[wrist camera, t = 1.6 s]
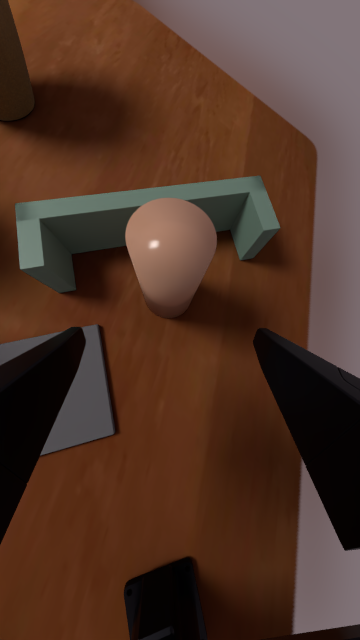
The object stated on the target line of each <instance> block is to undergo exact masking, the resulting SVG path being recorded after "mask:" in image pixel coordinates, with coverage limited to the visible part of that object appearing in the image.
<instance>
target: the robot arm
mask: <svg viewBox="0 0 360 640" xmlns="http://www.w3.org/2000/svg"><path fill="white" fill-rule="evenodd" d="M253 345H254V348H255V351H256V354H257V357H258V360H259V363H260V366H261V369H262V371H263V373H264V376H265V378H266V380H267V382H268V384H269V387H270V389H271V391H272V393H273V395H274V398H275V400H276V402H277V404H278V406H279V409H280V411H281V413H282V415H283V417H284V419H285V422H286V424H287V426H288V428H289V430H290V433H291V435H292V437H293V439H294V441H295V444H296V446H297V448H298V450H299V452H300V455H301V457H302V459H303V461H304V463H305V465H306V468H307V470H308V472H309V474H310V477H311V479H312V481H313V483H314V486H315V488H316V490H317V492H318V494H319V496H320V499H321V501H322V503H323V505H324V507H325V510H326V512H327V514H328V516H329V518H330V521H331V523H332V525H333V527H334V529H335V532H336V534H337V536H338V538H339V540H340V542H341V544H342V546H343V548H344V550H345V551H347V550H356V549H360V379H359V378H357V377H356V376H354V375H352V374H350V373H348V372H346V371H344V370H343V369H341V368H338V367H336V366H335V365H333V364H331V363H329V362H327V361H326V360H324V359H322V358H320V357H318V356H317V355H315V354H313V353H311V352H309V351H307V350H306V349H304V348H302V347H300V346H298V345H296V344H294V343H293V342H291V341H289V340H287V339H285V338H283V337H282V336H280V335H278V334H276V333H274V332H272V331H270V330H269V329H267V328H259V329H257V331H256V334H255V337H254V340H253ZM85 346H86V338H85V335H84V332H83V329H82V328H81V327H71V328H69V329H67V330H65V331H64V332H62V333H60V334H58V335H56V336H54V337H52V338H50V339H49V340H47V341H45V342H43V343H41V344H39V345H37V346H35V347H34V348H32V349H30V350H28V351H26V352H24V353H22V354H21V355H19V356H17V357H15V358H13V359H11V360H9V361H7V362H6V363H4V364H2V365H0V544H1V542H2V540H3V537H4V535H5V533H6V531H7V528H8V526H9V524H10V522H11V519H12V517H13V515H14V513H15V511H16V508H17V506H18V504H19V502H20V499H21V497H22V495H23V493H24V490H25V488H26V486H27V483H28V481H29V479H30V477H31V474H32V472H33V470H34V468H35V465H36V463H37V461H38V459H39V456H40V454H41V452H42V450H43V448H44V445H45V443H46V441H47V439H48V436H49V434H50V432H51V430H52V427H53V425H54V423H55V421H56V418H57V416H58V414H59V412H60V410H61V407H62V405H63V403H64V401H65V398H66V396H67V394H68V392H69V389H70V387H71V385H72V383H73V380H74V378H75V376H76V374H77V371H78V368H79V365H80V362H81V359H82V355H83V352H84V349H85ZM187 565H189V566H188V567H186V566H187ZM128 589H131V590H128ZM124 599H125V606H126V613H127V620H128V627H129V635H130V640H201V639H202V640H207V633H206V628H205V623H204V618H203V614H202V609H201V604H200V599H199V594H198V589H197V584H196V579H195V574H194V569H193V564H192V561H191V559H190V558H188V557H187V558H184V559H181V560H179V561H176V562H174V563H171V564H169V565H166V566H164V567H161V568H159V569H156V570H154V571H151V572H149V573H146V574H144V575H141V576H139V577H136V578H134V579H131V580H129V581H128V582H127V583H126V585H125V589H124ZM261 640H360V624H359V625H353V626H346V627H339V628H333V629H326V630H320V631H313V632H307V633H300V634H293V635H287V636H280V637H274V638H267V639H261Z"/></svg>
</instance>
